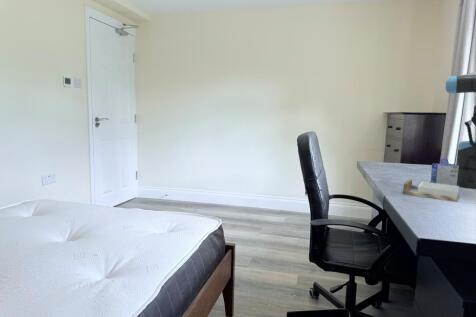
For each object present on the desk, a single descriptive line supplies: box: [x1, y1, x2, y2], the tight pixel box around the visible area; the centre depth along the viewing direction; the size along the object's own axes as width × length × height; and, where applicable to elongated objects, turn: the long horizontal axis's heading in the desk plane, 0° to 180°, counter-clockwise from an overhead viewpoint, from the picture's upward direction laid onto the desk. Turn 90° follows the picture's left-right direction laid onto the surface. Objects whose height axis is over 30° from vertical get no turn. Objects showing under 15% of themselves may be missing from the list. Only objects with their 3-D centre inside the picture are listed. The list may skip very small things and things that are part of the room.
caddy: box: [417, 181, 460, 199], centre depth 141 cm, size 14×14×4 cm
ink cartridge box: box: [430, 158, 459, 186], centre depth 153 cm, size 10×6×14 cm, turn 89°
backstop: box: [402, 178, 458, 202], centre depth 143 cm, size 20×16×4 cm
